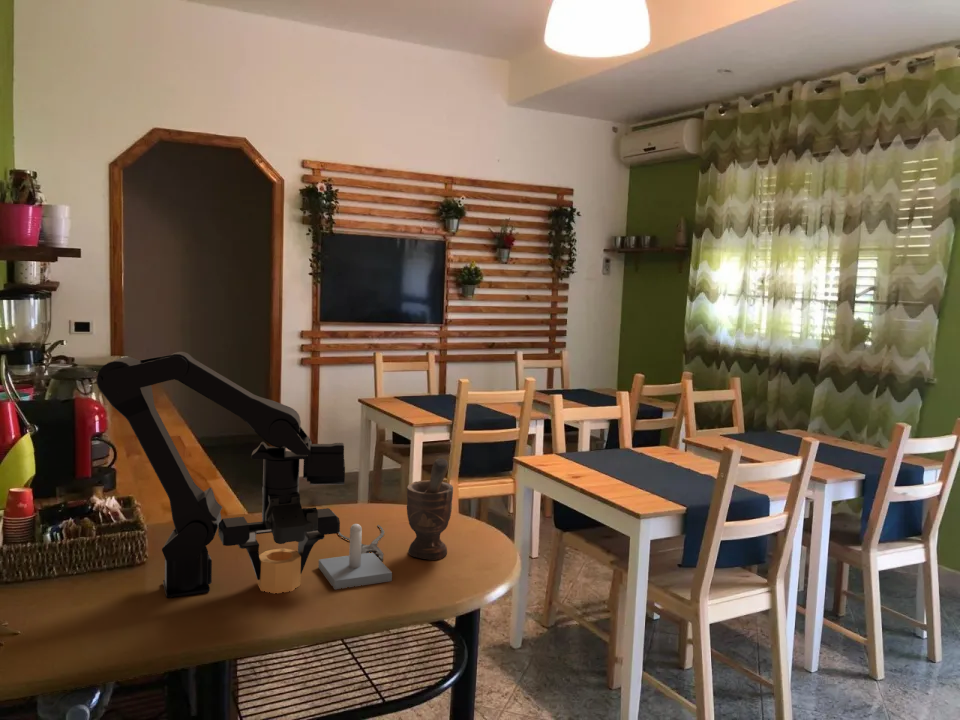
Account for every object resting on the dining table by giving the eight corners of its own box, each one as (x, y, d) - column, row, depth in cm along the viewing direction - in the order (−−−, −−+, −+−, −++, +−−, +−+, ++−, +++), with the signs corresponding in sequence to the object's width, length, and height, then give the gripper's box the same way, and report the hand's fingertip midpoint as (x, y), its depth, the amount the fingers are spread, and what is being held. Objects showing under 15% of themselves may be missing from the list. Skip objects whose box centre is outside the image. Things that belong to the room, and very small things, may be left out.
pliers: (376, 521, 158) (416, 553, 140) (376, 525, 158) (416, 558, 140) (331, 527, 153) (367, 561, 136) (331, 531, 153) (367, 565, 136)
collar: (263, 595, 120) (263, 565, 120) (255, 580, 126) (255, 551, 126) (303, 589, 123) (303, 560, 123) (293, 575, 129) (294, 546, 128)
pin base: (334, 589, 124) (336, 536, 123) (318, 567, 133) (319, 518, 132) (391, 580, 129) (393, 530, 128) (372, 560, 137) (374, 512, 136)
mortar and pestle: (469, 562, 139) (474, 456, 137) (430, 571, 133) (435, 461, 131) (433, 543, 148) (437, 443, 146) (395, 551, 142) (399, 448, 140)
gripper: (229, 504, 111) (228, 604, 113) (351, 493, 120) (348, 586, 122) (218, 484, 121) (217, 577, 123) (331, 475, 130) (329, 562, 132)
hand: (279, 576), depth 125 cm, fingers closed on collar, 6 cm apart
